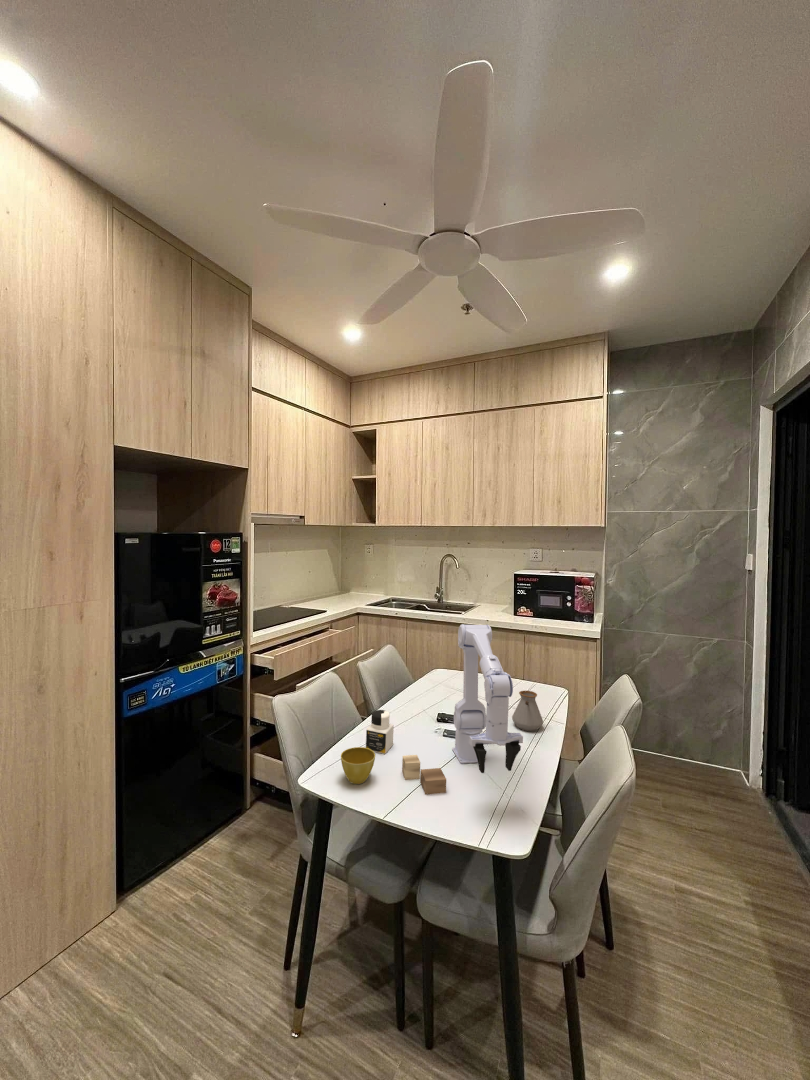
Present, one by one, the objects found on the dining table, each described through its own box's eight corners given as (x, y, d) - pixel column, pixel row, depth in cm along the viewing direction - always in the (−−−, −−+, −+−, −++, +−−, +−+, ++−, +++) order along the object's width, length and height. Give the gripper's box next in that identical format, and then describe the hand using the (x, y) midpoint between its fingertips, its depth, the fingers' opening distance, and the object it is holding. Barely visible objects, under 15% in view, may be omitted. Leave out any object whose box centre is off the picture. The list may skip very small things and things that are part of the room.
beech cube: (402, 771, 133) (402, 755, 133) (416, 770, 134) (417, 754, 134) (404, 780, 129) (405, 763, 129) (419, 779, 130) (420, 762, 130)
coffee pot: (513, 718, 175) (514, 681, 175) (543, 723, 171) (544, 685, 171) (507, 742, 155) (509, 699, 155) (541, 748, 151) (543, 705, 151)
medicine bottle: (365, 750, 146) (366, 714, 146) (374, 740, 152) (375, 706, 152) (385, 754, 143) (386, 718, 143) (393, 744, 150) (394, 710, 150)
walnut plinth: (420, 783, 128) (420, 769, 128) (440, 781, 129) (440, 767, 129) (425, 795, 122) (425, 780, 122) (445, 793, 123) (446, 779, 123)
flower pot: (357, 766, 136) (358, 743, 135) (381, 778, 129) (382, 754, 129) (332, 779, 128) (333, 755, 128) (357, 793, 121) (357, 768, 121)
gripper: (476, 728, 112) (474, 780, 112) (529, 724, 115) (527, 776, 115) (467, 716, 119) (465, 765, 119) (517, 713, 122) (515, 762, 122)
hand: (495, 770), depth 117 cm, fingers open, 7 cm apart
